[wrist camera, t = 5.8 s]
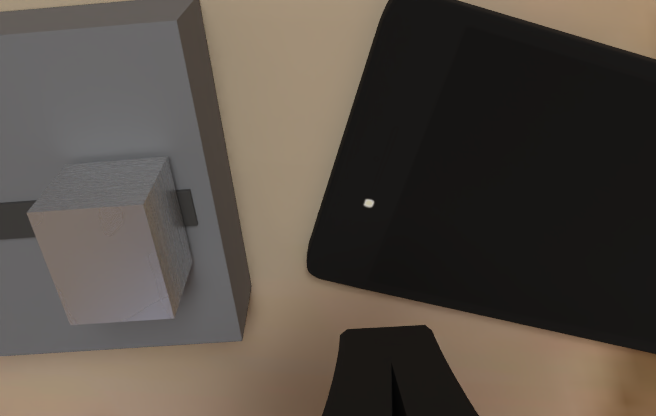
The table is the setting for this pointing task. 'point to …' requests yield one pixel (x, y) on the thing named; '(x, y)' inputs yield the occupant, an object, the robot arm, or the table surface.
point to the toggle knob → (114, 240)
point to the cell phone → (498, 175)
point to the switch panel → (115, 144)
